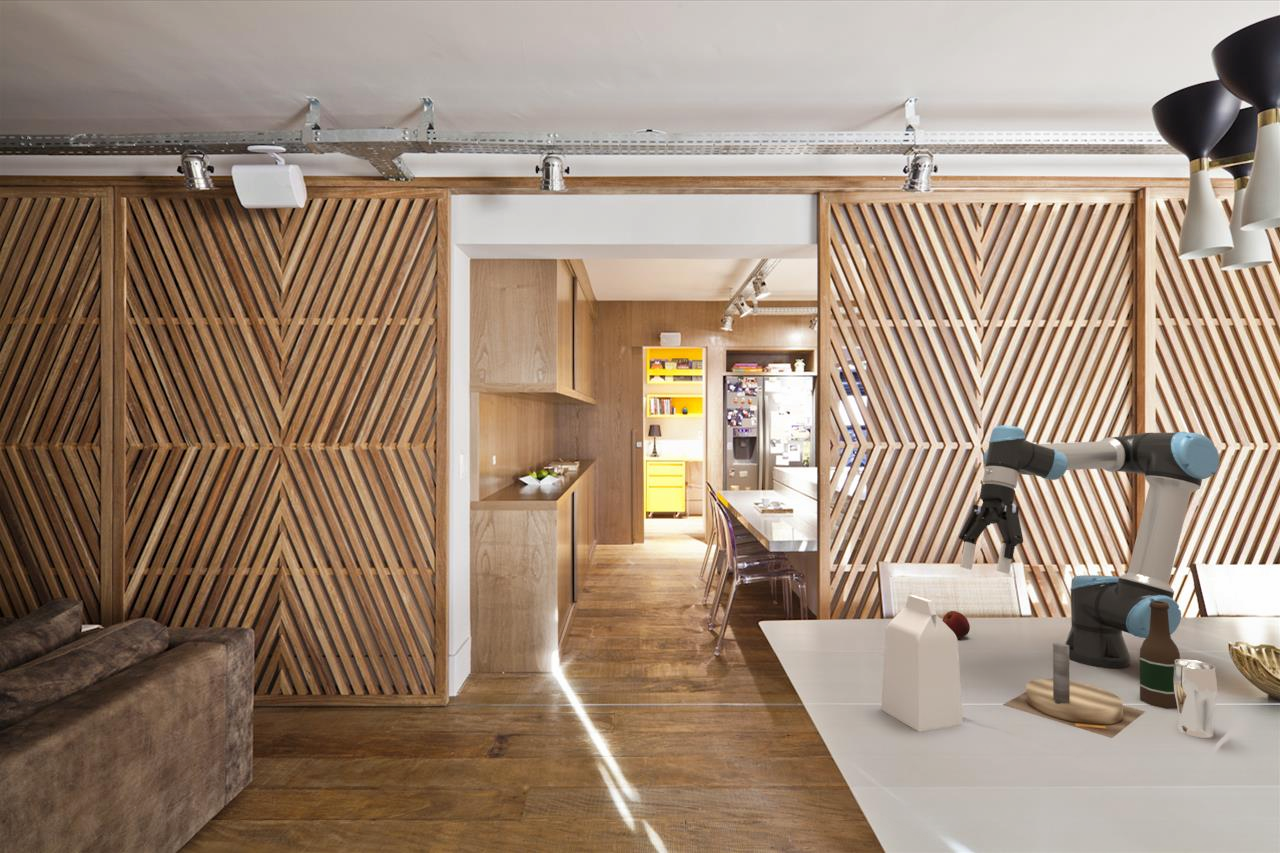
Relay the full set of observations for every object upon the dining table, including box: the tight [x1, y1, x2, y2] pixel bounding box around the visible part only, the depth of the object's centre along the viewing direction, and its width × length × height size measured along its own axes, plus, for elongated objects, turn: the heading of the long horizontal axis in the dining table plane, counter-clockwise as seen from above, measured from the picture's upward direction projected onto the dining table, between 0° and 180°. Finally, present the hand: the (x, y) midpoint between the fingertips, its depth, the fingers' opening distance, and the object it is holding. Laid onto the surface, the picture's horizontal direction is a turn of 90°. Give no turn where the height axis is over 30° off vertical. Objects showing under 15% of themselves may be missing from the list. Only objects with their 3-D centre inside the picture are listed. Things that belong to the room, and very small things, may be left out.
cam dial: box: [1025, 642, 1124, 725], centre depth 148 cm, size 18×18×15 cm
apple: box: [941, 610, 971, 639], centre depth 205 cm, size 7×8×8 cm
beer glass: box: [1173, 658, 1218, 739], centre depth 137 cm, size 7×7×15 cm
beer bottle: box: [1139, 601, 1181, 710], centre depth 152 cm, size 8×8×24 cm
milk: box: [880, 594, 964, 732], centre depth 147 cm, size 12×12×26 cm
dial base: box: [1002, 691, 1146, 739], centre depth 148 cm, size 21×21×2 cm
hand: (983, 570), depth 162 cm, fingers open, 13 cm apart
